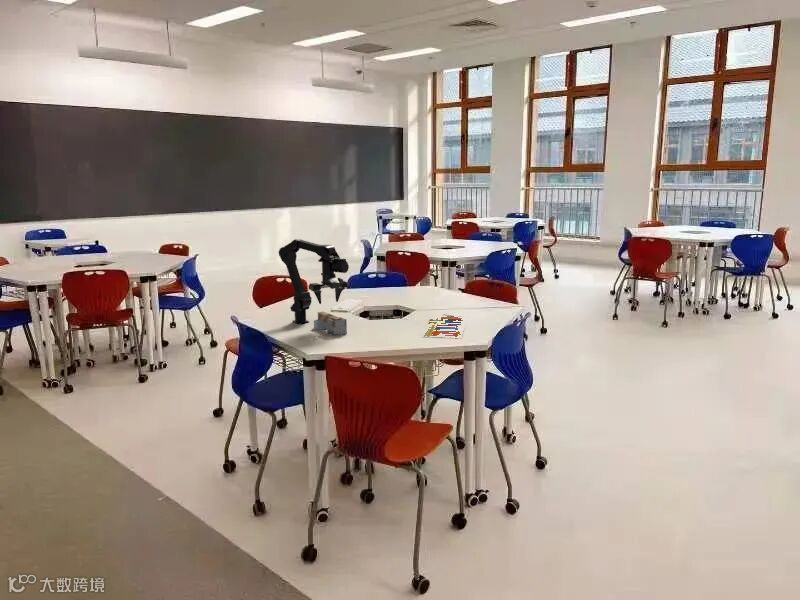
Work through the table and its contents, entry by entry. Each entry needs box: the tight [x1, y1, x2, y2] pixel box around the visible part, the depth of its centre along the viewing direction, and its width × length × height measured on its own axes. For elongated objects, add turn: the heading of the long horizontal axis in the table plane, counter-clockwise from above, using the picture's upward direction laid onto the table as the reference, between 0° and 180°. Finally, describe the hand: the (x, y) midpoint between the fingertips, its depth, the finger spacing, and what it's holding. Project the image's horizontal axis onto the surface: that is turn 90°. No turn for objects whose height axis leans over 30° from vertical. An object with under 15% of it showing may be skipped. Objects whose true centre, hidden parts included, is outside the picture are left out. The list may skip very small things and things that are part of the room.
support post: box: [313, 318, 327, 330], centre depth 292 cm, size 4×8×4 cm, turn 125°
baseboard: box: [330, 298, 363, 313], centre depth 343 cm, size 31×3×12 cm
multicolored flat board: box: [424, 314, 463, 338], centre depth 295 cm, size 45×2×19 cm
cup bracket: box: [326, 316, 348, 337], centre depth 281 cm, size 6×7×7 cm
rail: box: [317, 311, 342, 323], centre depth 286 cm, size 18×3×4 cm, turn 35°
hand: (328, 302), depth 293 cm, fingers open, 9 cm apart
